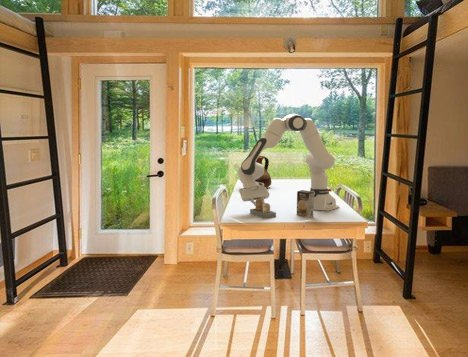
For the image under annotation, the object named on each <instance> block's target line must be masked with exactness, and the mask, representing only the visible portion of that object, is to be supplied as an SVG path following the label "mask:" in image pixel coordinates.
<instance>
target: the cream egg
mask: <svg viewBox="0 0 468 357" xmlns="http://www.w3.org/2000/svg"><path fill="white" fill-rule="evenodd" d="M270 211H271V205H270V203H268V202H265V203H264V204H263V213H265V214H266V213H270Z"/></svg>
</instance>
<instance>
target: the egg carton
mask: <svg viewBox="0 0 468 357" xmlns="http://www.w3.org/2000/svg"><path fill="white" fill-rule="evenodd" d="M249 213H250V214H251V215H254V216H257V217H260V218H263V219H269V218H276V217H277V212H276V211H273V210H270V213H266V214H265V213H263V211H256V207H255V208H249Z"/></svg>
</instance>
